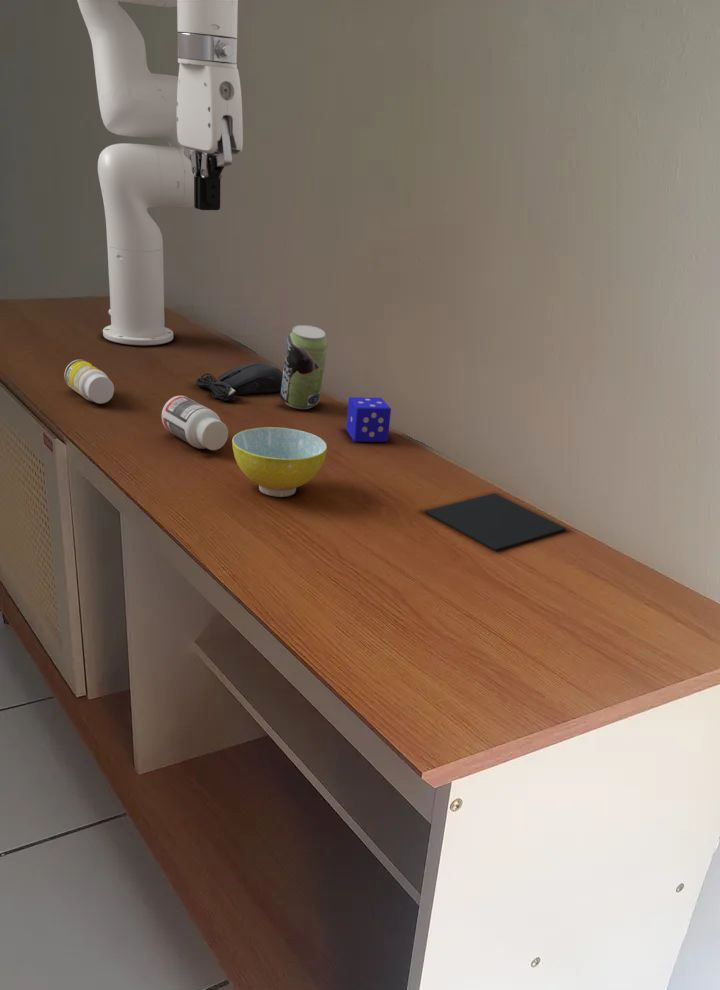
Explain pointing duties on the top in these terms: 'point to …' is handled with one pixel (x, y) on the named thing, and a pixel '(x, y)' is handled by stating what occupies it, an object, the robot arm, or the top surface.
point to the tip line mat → (495, 521)
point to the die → (368, 419)
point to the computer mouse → (243, 381)
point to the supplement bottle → (89, 381)
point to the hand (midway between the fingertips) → (207, 208)
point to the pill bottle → (194, 423)
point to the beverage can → (303, 367)
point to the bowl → (278, 458)
